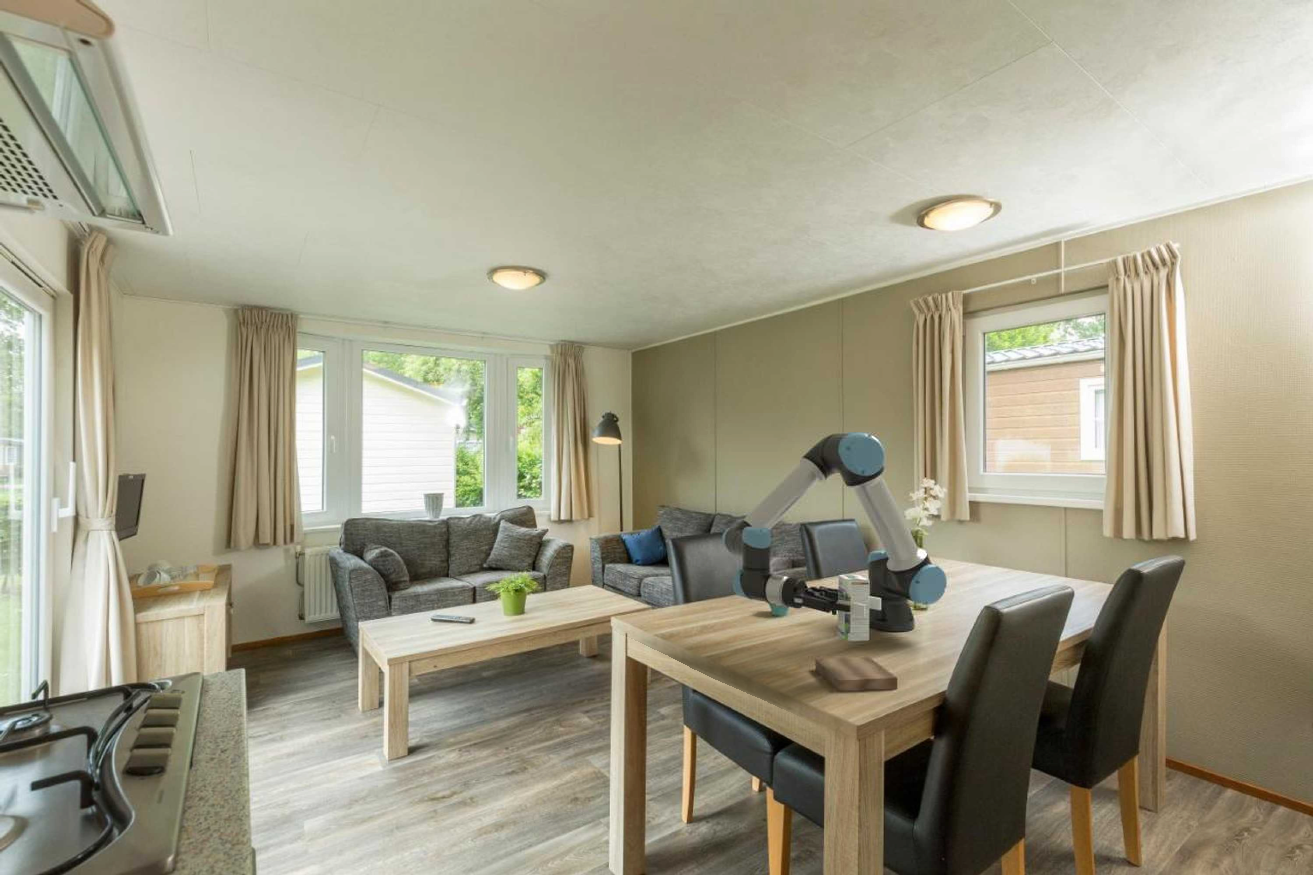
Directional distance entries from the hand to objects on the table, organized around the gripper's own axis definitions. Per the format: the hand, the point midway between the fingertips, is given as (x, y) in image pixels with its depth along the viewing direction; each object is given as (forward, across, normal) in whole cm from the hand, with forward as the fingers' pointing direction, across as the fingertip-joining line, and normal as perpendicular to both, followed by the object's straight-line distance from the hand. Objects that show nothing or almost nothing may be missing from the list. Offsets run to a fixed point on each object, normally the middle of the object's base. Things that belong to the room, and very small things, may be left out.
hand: (872, 607), depth 142 cm
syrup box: (-5, 0, -8) cm, 9 cm away
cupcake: (-48, -37, -18) cm, 63 cm away
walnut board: (-5, 0, -18) cm, 18 cm away
